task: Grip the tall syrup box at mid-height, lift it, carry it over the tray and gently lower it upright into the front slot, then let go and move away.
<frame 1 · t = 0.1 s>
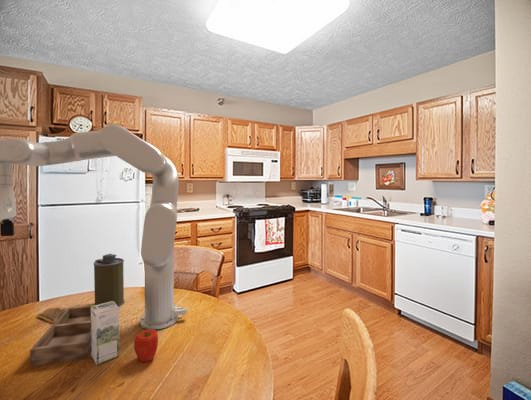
tray: (76, 337, 85), on the table
syrup box: (105, 357, 76), on the table
shard: (56, 317, 99), on the table
canister: (109, 304, 108), on the table
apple: (146, 359, 76), on the table
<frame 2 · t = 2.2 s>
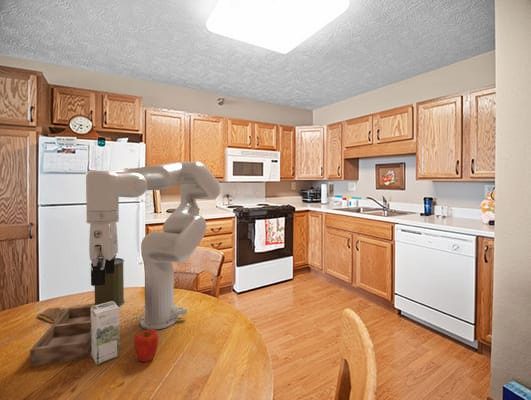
hand: (103, 278, 75), 22 cm above the table, tool pointing down, fingers open, 9 cm apart
nothing on the table moved.
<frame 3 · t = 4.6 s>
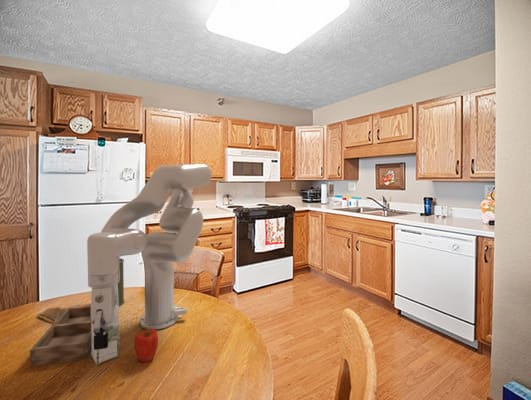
hand: (105, 339, 76), 5 cm above the table, tool pointing down, fingers closed on syrup box, 7 cm apart
syrup box: (105, 357, 76), on the table, touching gripper
everything else where it was.
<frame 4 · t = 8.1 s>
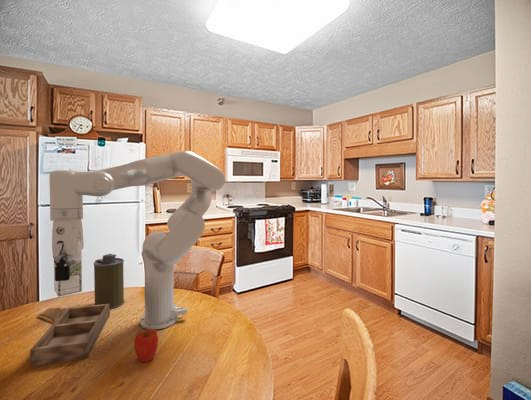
hand: (68, 275, 78), 22 cm above the table, tool pointing down, fingers closed on syrup box, 7 cm apart
syrup box: (68, 292, 78), point 17 cm above the table, touching gripper
everything else where it was.
when the fingers open (7 cm above the table, at t = 11.9 s): syrup box stays where it is, resting on tray.
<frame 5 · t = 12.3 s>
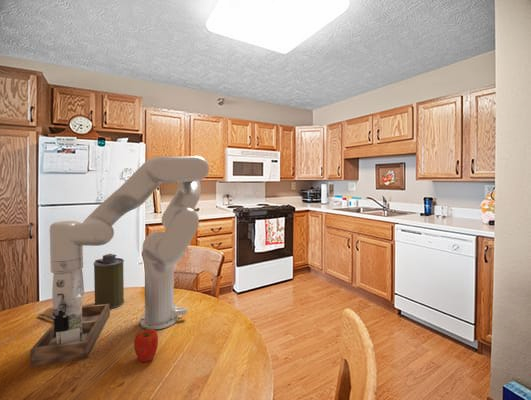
hand: (68, 322, 79), 8 cm above the table, tool pointing down, fingers open, 9 cm apart
syrup box: (69, 344, 79), point 1 cm above the table, touching tray
everything else where it was.
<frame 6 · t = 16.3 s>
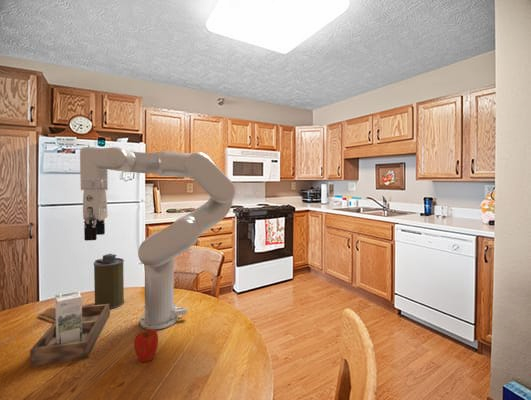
hand: (95, 237, 90), 30 cm above the table, tool pointing down, fingers open, 9 cm apart
nothing on the table moved.
at the end: syrup box inside the target area on the tray (0.2 cm from its centre), point 1.3 cm above the tray's base; syrup box tilted 0°; the gripper is holding nothing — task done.
